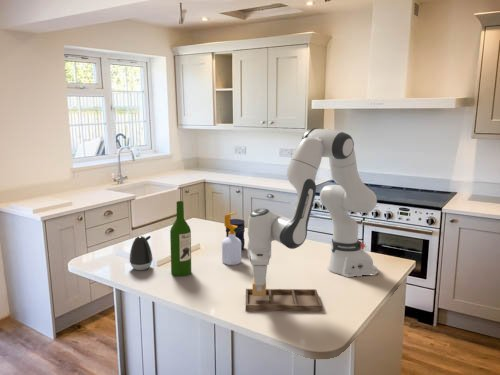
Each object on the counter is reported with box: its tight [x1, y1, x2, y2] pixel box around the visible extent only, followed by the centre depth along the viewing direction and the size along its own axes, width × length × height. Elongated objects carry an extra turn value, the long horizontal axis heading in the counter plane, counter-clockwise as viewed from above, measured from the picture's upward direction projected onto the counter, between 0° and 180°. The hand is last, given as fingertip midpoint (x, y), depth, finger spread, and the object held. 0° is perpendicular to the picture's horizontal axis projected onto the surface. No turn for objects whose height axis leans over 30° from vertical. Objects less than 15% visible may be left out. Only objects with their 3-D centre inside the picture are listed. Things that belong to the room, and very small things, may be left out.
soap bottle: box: [221, 211, 242, 266], centre depth 199 cm, size 9×9×25 cm
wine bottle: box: [169, 200, 192, 278], centre depth 184 cm, size 9×9×32 cm
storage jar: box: [225, 218, 246, 252], centre depth 218 cm, size 10×10×15 cm
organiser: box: [245, 288, 323, 312], centre depth 159 cm, size 28×14×2 cm, turn 90°
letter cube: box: [252, 277, 267, 296], centre depth 159 cm, size 5×5×5 cm
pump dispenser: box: [129, 235, 154, 271], centre depth 190 cm, size 10×10×15 cm
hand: (259, 286), depth 159 cm, fingers closed on letter cube, 5 cm apart
